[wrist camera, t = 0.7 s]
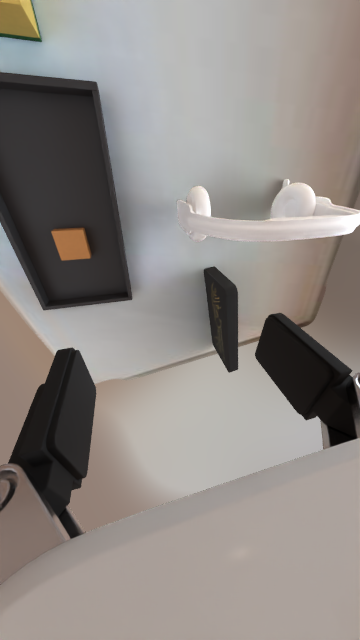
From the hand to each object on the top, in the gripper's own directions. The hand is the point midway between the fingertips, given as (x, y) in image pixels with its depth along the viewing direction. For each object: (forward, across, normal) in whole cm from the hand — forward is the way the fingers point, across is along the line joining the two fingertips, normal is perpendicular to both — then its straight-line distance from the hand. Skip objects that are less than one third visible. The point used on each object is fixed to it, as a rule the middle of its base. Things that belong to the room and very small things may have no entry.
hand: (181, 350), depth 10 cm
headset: (+27, -15, -3) cm, 31 cm away
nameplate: (+27, -14, +17) cm, 35 cm away
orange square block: (+26, +10, 0) cm, 28 cm away
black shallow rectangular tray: (+27, +10, -3) cm, 29 cm away
